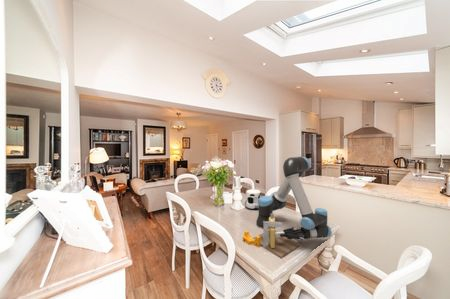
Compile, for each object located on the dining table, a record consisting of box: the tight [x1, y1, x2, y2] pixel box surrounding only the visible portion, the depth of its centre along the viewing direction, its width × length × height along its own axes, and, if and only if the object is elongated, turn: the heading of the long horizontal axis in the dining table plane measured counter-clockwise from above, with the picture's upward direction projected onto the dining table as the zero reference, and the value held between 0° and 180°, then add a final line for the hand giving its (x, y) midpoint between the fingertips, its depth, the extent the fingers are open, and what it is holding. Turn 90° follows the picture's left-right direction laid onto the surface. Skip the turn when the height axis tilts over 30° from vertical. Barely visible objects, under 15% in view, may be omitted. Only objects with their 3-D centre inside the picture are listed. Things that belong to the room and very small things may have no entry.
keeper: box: [262, 221, 284, 249], centre depth 116 cm, size 12×3×17 cm, turn 80°
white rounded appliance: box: [244, 188, 262, 210], centre depth 188 cm, size 17×17×18 cm
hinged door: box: [268, 212, 276, 248], centre depth 123 cm, size 20×4×15 cm, turn 166°
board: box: [252, 230, 303, 259], centre depth 122 cm, size 22×25×1 cm
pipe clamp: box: [242, 230, 262, 248], centre depth 122 cm, size 12×4×6 cm, turn 44°
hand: (275, 234), depth 118 cm, fingers closed
